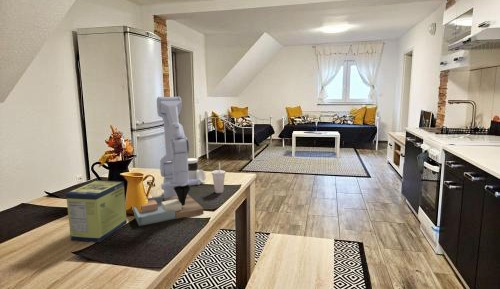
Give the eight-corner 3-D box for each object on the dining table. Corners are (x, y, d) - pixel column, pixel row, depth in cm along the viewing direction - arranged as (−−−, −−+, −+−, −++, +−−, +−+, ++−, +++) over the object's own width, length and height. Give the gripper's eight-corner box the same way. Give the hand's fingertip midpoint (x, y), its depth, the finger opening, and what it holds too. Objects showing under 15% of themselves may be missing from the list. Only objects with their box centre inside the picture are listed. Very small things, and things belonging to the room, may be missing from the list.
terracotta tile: (139, 207, 125) (138, 201, 125) (154, 205, 128) (154, 199, 128) (141, 212, 120) (141, 206, 120) (157, 209, 123) (157, 203, 123)
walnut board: (163, 202, 133) (163, 198, 132) (187, 198, 137) (187, 194, 137) (176, 218, 115) (175, 213, 115) (203, 213, 120) (203, 208, 120)
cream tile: (161, 208, 121) (161, 201, 120) (177, 205, 124) (176, 198, 123) (165, 213, 116) (165, 206, 115) (181, 209, 118) (181, 203, 118)
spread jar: (185, 179, 170) (184, 157, 168) (206, 178, 171) (205, 157, 169) (182, 185, 158) (181, 162, 156) (205, 184, 159) (204, 161, 158)
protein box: (127, 223, 112) (124, 180, 110) (99, 243, 97) (95, 194, 94) (101, 221, 114) (97, 179, 111) (69, 240, 99) (64, 193, 96)
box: (130, 208, 127) (130, 201, 126) (163, 202, 133) (162, 195, 132) (139, 226, 109) (138, 217, 109) (175, 218, 115) (175, 211, 115)
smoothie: (223, 194, 143) (223, 164, 140) (210, 193, 144) (209, 163, 142) (227, 190, 149) (226, 161, 147) (214, 189, 150) (213, 160, 148)
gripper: (163, 175, 112) (165, 211, 114) (202, 170, 119) (203, 204, 121) (159, 171, 118) (161, 205, 121) (196, 166, 125) (197, 199, 127)
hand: (182, 204), depth 121 cm, fingers closed
